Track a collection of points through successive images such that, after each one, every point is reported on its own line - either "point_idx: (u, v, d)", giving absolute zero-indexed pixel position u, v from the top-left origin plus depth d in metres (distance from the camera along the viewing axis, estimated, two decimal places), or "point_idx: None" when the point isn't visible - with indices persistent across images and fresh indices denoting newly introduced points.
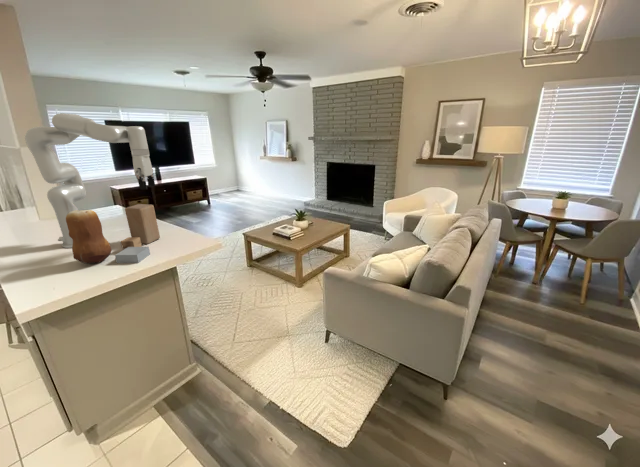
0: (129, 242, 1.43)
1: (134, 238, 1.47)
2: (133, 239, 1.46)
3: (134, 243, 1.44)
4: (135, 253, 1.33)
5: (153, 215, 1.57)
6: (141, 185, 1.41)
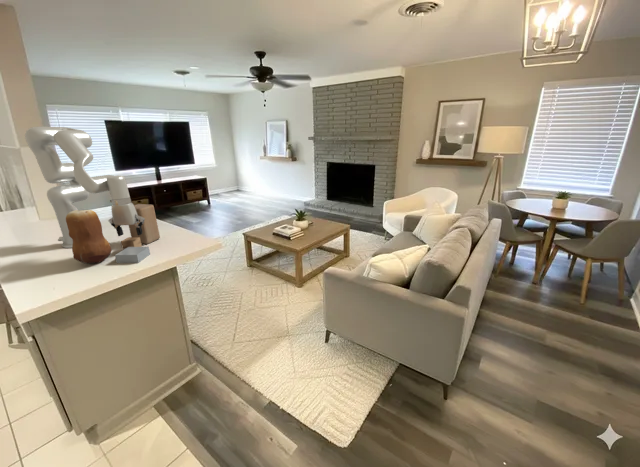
0: (129, 242, 1.43)
1: (134, 238, 1.47)
2: (133, 239, 1.46)
3: (134, 243, 1.44)
4: (135, 253, 1.33)
5: (153, 215, 1.57)
6: (140, 230, 1.44)
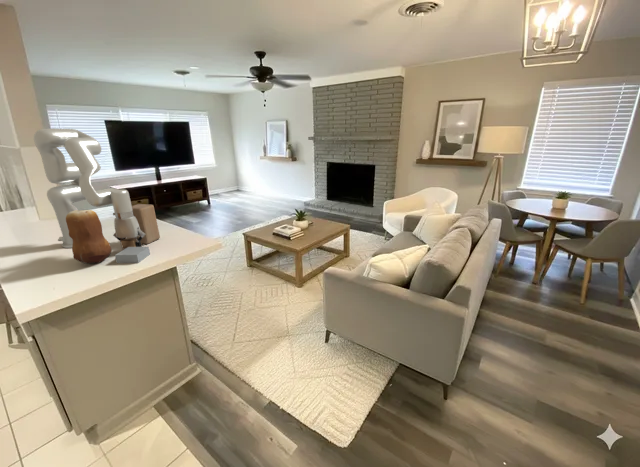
0: (129, 242, 1.43)
1: None
2: (133, 239, 1.45)
3: (134, 243, 1.44)
4: (135, 253, 1.33)
5: (153, 215, 1.57)
6: (140, 244, 1.47)
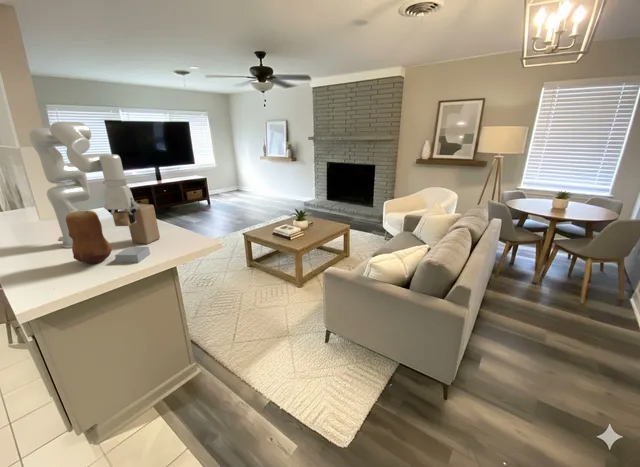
0: (122, 214, 1.28)
1: None
2: (126, 211, 1.30)
3: (127, 216, 1.29)
4: (135, 253, 1.33)
5: (153, 215, 1.57)
6: (134, 218, 1.31)
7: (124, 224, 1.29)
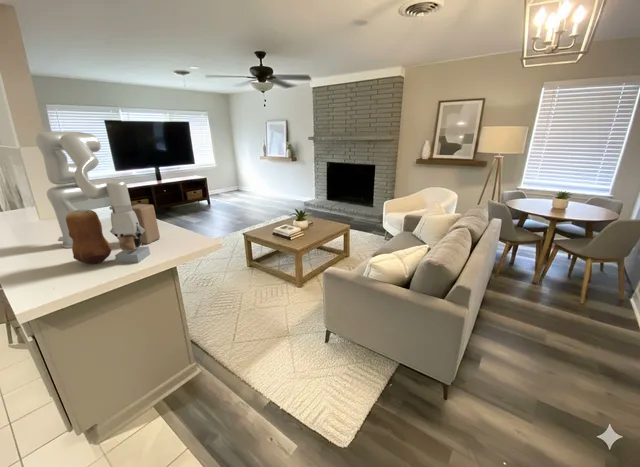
0: (128, 238, 1.31)
1: None
2: (132, 235, 1.33)
3: (133, 240, 1.32)
4: (135, 253, 1.33)
5: (153, 215, 1.57)
6: (139, 241, 1.35)
7: (130, 248, 1.33)
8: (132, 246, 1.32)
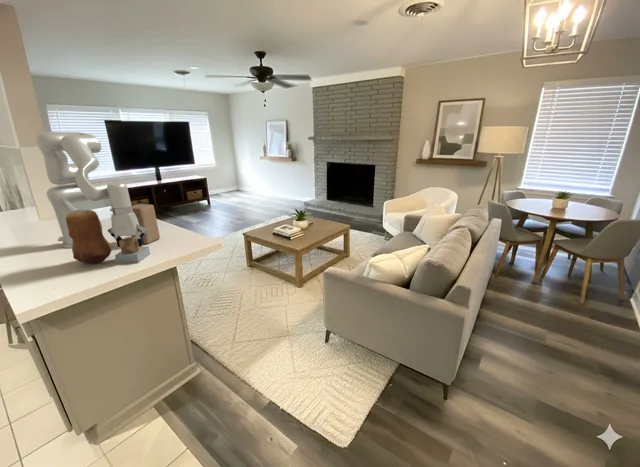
0: (128, 242, 1.32)
1: (133, 238, 1.35)
2: (132, 239, 1.34)
3: (133, 243, 1.33)
4: (135, 253, 1.33)
5: (153, 215, 1.57)
6: (142, 241, 1.35)
7: (130, 251, 1.33)
8: (132, 249, 1.33)
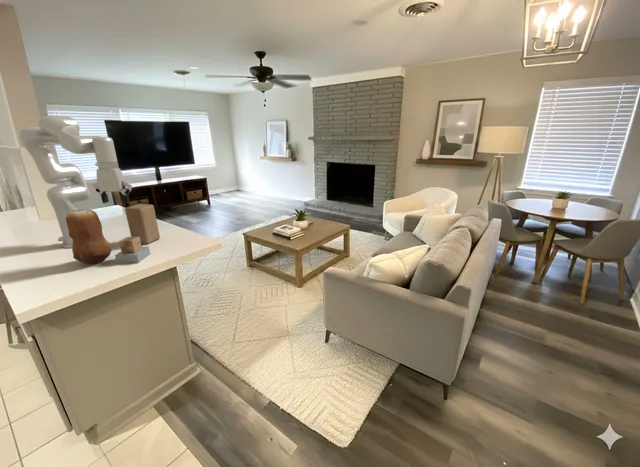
0: (128, 242, 1.32)
1: (133, 238, 1.35)
2: (132, 239, 1.34)
3: (133, 243, 1.33)
4: (135, 253, 1.33)
5: (153, 215, 1.57)
6: (127, 198, 1.34)
7: (130, 251, 1.33)
8: (132, 249, 1.33)
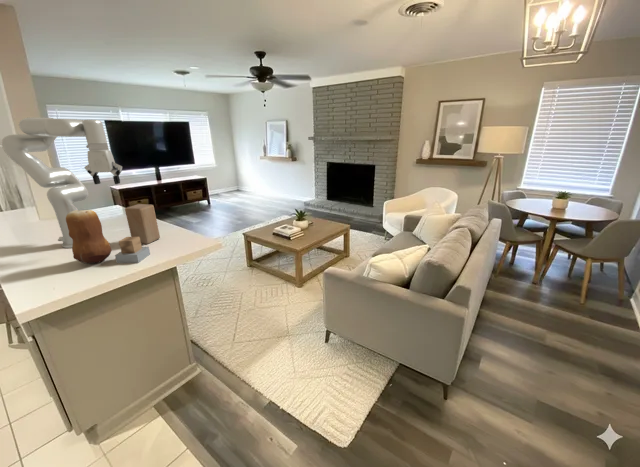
0: (128, 242, 1.32)
1: (133, 238, 1.35)
2: (132, 239, 1.34)
3: (133, 243, 1.33)
4: (135, 253, 1.33)
5: (153, 215, 1.57)
6: (118, 179, 1.41)
7: (130, 251, 1.33)
8: (132, 249, 1.33)
